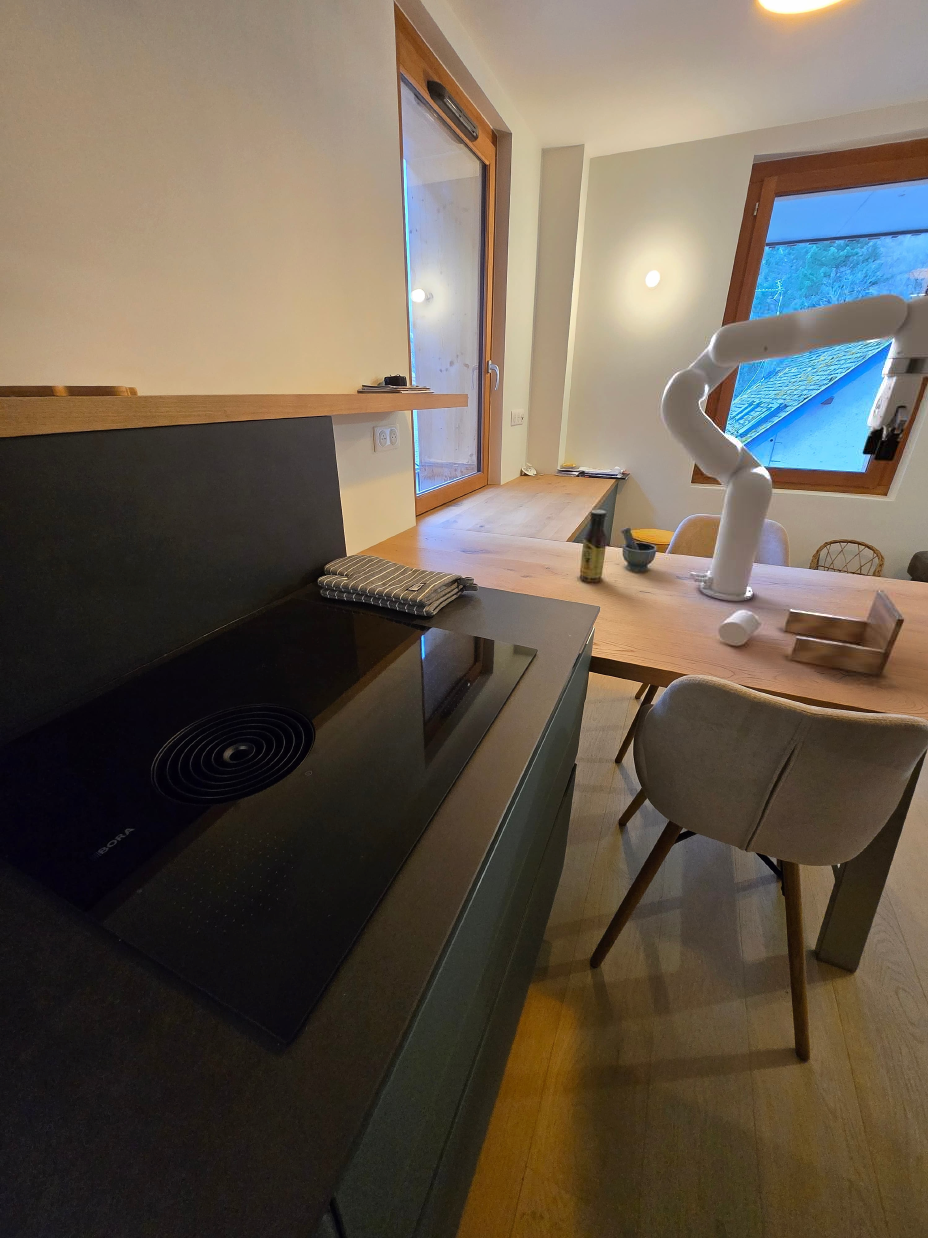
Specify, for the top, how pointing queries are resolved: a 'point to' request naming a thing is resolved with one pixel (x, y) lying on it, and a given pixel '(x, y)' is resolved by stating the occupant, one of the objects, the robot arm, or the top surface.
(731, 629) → the roll
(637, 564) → the mortar and pestle
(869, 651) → the u-shaped wooden enclosure
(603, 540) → the sauce bottle
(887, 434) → the robot arm
